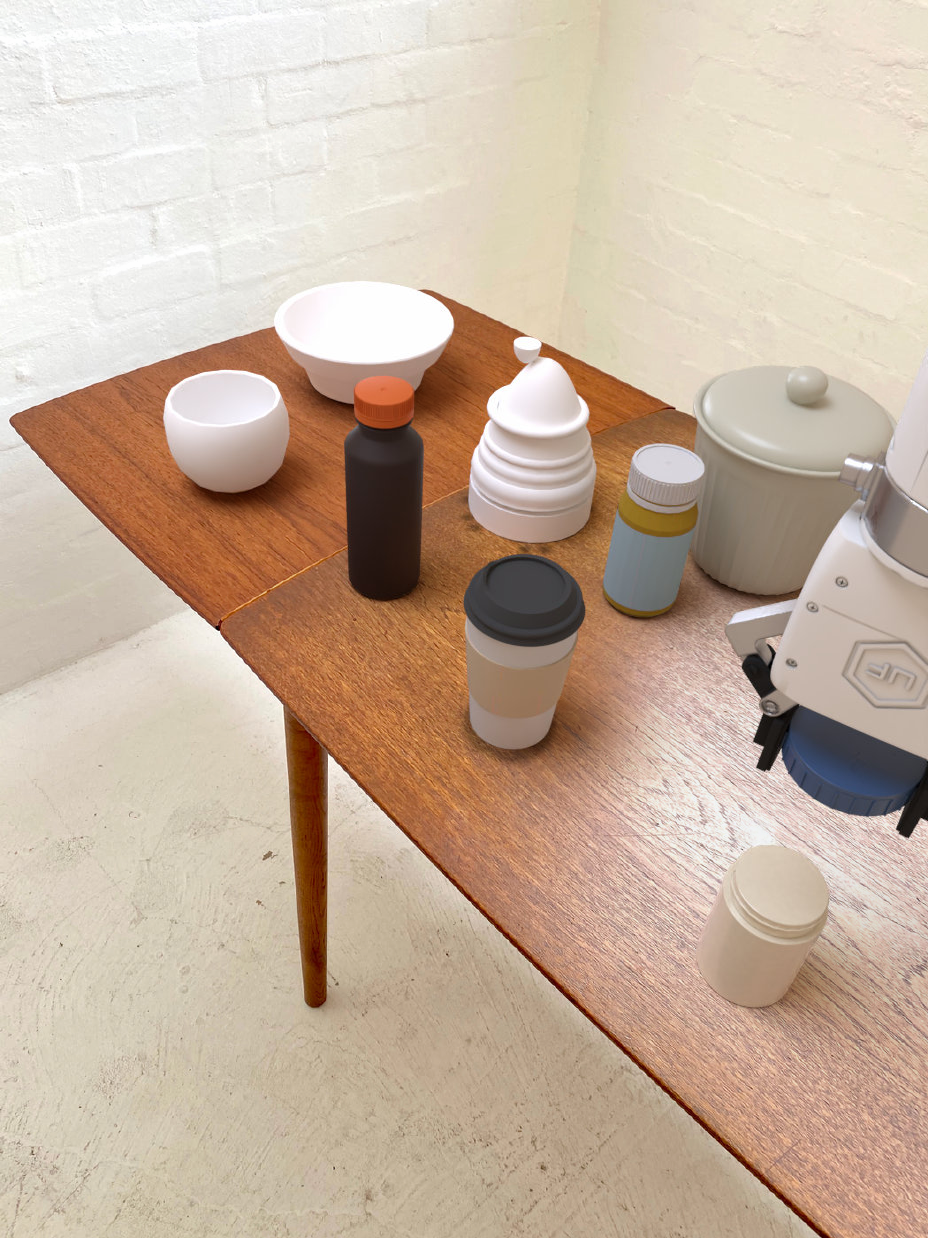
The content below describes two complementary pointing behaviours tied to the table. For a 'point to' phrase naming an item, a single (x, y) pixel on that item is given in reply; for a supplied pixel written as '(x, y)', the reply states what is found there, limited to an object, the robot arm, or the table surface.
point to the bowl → (362, 334)
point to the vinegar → (384, 489)
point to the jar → (762, 925)
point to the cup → (227, 429)
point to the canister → (777, 470)
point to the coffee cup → (519, 646)
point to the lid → (848, 766)
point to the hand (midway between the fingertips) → (838, 783)
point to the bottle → (653, 530)
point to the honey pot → (534, 455)
